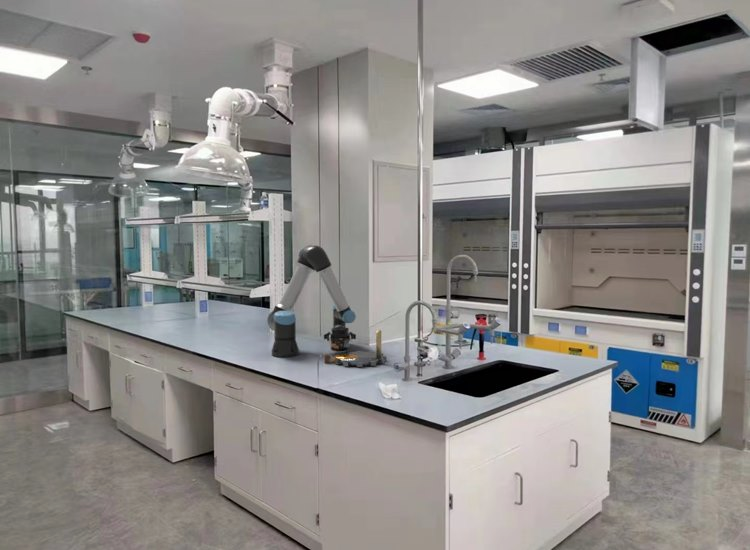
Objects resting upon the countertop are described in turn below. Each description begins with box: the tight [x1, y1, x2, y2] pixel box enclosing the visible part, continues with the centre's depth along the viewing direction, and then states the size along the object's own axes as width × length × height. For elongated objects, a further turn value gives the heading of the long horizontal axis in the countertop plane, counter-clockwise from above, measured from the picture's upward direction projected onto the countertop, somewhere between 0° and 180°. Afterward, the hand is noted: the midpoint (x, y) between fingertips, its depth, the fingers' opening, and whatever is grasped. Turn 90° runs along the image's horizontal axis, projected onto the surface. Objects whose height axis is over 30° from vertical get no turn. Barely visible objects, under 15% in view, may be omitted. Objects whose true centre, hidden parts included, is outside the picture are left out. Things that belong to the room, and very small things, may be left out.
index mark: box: [324, 353, 332, 364], centre depth 267 cm, size 3×4×4 cm
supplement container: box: [330, 327, 350, 353], centre depth 286 cm, size 10×10×12 cm
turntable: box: [332, 329, 387, 368], centre depth 268 cm, size 28×28×16 cm
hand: (340, 339), depth 282 cm, fingers closed on supplement container, 10 cm apart
